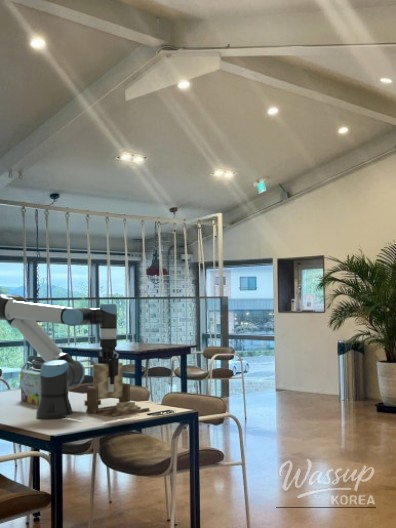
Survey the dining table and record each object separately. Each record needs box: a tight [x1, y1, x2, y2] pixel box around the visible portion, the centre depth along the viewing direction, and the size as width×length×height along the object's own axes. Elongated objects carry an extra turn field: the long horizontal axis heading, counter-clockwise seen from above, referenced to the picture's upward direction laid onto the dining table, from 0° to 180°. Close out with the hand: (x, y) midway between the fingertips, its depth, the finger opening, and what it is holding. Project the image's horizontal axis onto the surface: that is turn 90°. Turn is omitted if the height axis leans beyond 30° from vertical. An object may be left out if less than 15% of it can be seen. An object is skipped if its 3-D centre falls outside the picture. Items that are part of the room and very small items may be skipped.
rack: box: [84, 382, 151, 418], centre depth 286 cm, size 22×19×12 cm
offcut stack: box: [115, 400, 139, 413], centre depth 282 cm, size 9×4×4 cm, turn 137°
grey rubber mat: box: [146, 409, 175, 416], centre depth 288 cm, size 14×11×1 cm
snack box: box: [20, 369, 41, 406], centre depth 327 cm, size 21×6×15 cm, turn 37°
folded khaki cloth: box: [92, 362, 124, 400], centre depth 291 cm, size 14×3×15 cm, turn 137°
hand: (108, 391), depth 291 cm, fingers closed on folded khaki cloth, 3 cm apart
